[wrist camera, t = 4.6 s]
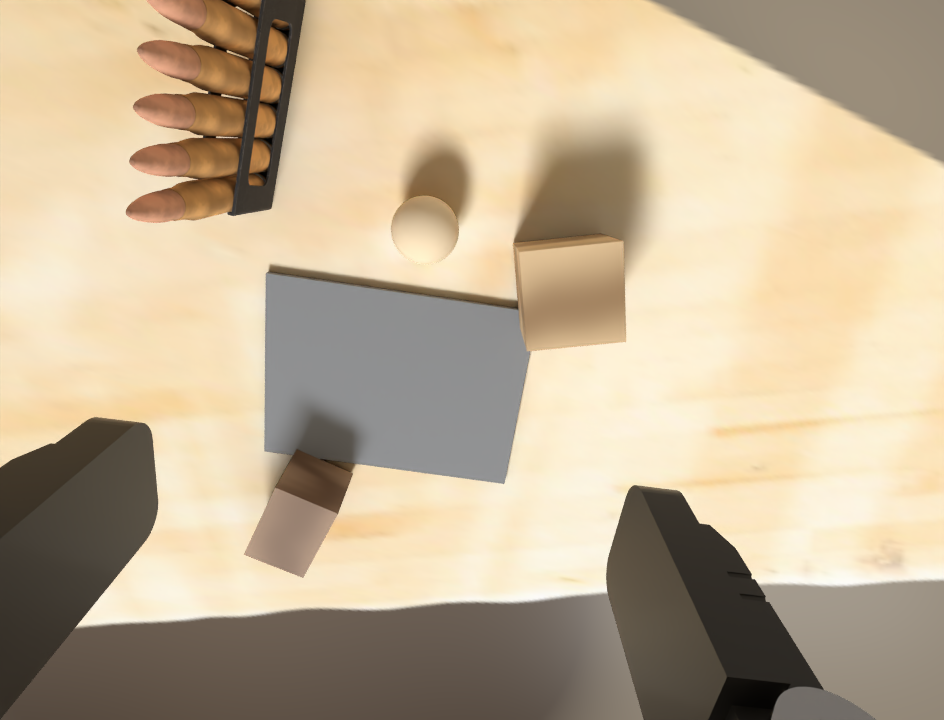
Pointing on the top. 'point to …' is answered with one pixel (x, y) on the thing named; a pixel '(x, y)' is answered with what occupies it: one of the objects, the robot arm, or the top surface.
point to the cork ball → (424, 229)
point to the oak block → (571, 291)
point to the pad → (391, 377)
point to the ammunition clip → (220, 107)
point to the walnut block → (299, 514)
